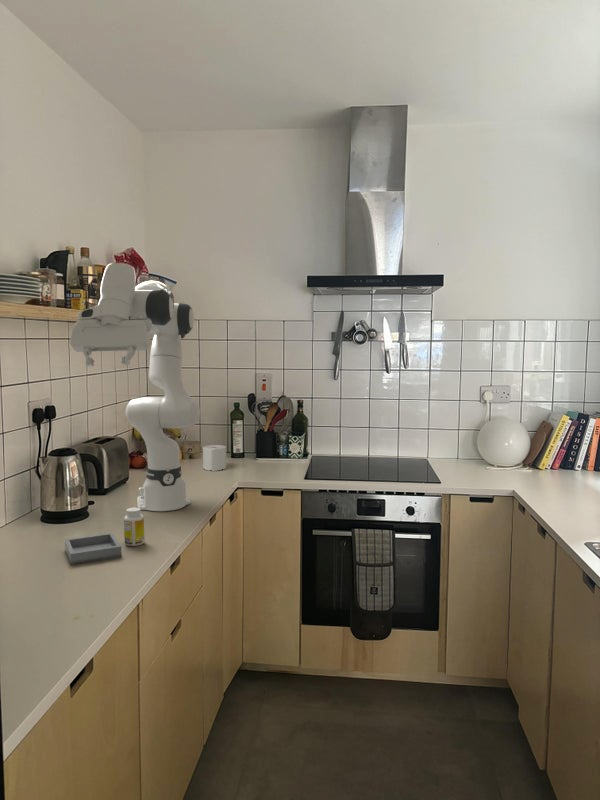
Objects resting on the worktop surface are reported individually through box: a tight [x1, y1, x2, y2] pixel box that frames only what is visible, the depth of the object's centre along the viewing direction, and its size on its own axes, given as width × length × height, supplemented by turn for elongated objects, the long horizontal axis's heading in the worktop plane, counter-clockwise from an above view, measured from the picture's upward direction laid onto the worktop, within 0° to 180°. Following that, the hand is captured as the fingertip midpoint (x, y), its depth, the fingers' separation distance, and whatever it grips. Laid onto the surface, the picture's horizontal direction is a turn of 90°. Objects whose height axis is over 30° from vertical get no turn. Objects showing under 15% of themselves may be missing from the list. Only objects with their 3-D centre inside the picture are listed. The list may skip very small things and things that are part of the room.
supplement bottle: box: [123, 507, 145, 547], centre depth 175 cm, size 6×6×10 cm
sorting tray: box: [64, 532, 123, 566], centre depth 167 cm, size 13×13×3 cm
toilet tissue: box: [202, 444, 227, 472], centre depth 277 cm, size 11×12×10 cm
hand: (107, 365), depth 154 cm, fingers open, 8 cm apart
